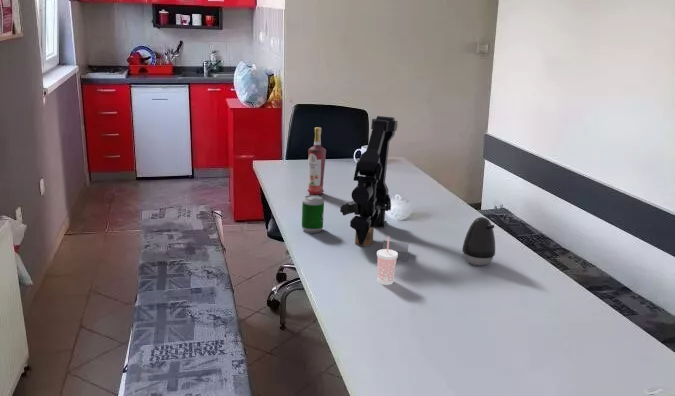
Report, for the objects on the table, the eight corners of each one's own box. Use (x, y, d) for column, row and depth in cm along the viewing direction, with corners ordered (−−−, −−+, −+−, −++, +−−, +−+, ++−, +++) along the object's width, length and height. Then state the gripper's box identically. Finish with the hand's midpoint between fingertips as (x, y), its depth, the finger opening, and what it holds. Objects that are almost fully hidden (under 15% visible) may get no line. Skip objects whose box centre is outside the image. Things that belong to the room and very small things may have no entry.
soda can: (320, 234, 219) (321, 201, 215) (299, 232, 220) (300, 199, 216) (324, 227, 226) (326, 195, 222) (304, 225, 227) (305, 193, 223)
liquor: (327, 193, 266) (330, 127, 257) (317, 197, 260) (320, 130, 251) (313, 190, 269) (315, 125, 261) (303, 193, 263) (305, 127, 255)
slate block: (383, 250, 208) (384, 240, 207) (407, 252, 207) (408, 242, 206) (381, 259, 201) (382, 249, 200) (406, 262, 200) (407, 252, 199)
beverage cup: (389, 287, 180) (393, 242, 176) (370, 282, 183) (374, 237, 179) (399, 280, 185) (403, 236, 181) (380, 275, 188) (384, 231, 184)
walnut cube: (358, 239, 216) (359, 225, 215) (372, 241, 215) (373, 227, 214) (355, 244, 212) (355, 230, 210) (369, 246, 210) (370, 232, 209)
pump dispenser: (475, 271, 195) (481, 224, 190) (454, 258, 203) (459, 214, 199) (500, 266, 199) (506, 221, 195) (479, 254, 208) (484, 210, 203)
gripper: (350, 185, 219) (348, 227, 224) (335, 200, 202) (333, 245, 206) (381, 189, 216) (378, 232, 221) (369, 204, 199) (366, 250, 204)
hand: (364, 239), depth 213 cm, fingers open, 9 cm apart
